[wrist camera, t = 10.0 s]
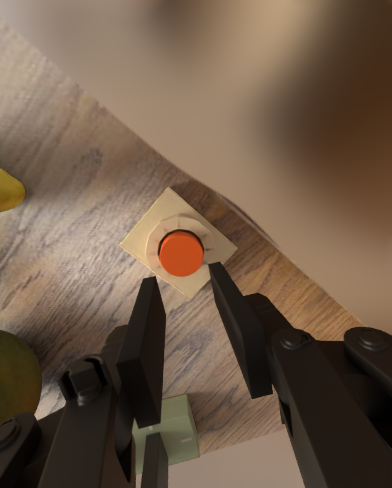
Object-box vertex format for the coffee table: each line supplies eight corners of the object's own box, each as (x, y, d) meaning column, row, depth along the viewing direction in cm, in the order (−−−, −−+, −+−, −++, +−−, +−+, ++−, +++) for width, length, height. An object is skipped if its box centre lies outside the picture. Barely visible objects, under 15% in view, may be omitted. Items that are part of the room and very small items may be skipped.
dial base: (185, 390, 31) (187, 412, 28) (198, 436, 33) (201, 461, 30) (115, 408, 30) (109, 432, 27) (133, 454, 32) (129, 481, 29)
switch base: (233, 243, 26) (243, 253, 22) (189, 291, 27) (192, 308, 23) (168, 186, 24) (168, 185, 20) (123, 240, 25) (114, 250, 21)
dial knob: (146, 435, 28) (137, 517, 21) (159, 431, 28) (155, 512, 21) (155, 461, 29) (149, 547, 22) (168, 458, 29) (167, 542, 22)
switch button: (208, 248, 22) (212, 254, 20) (182, 276, 23) (184, 285, 21) (178, 222, 21) (179, 226, 19) (152, 253, 22) (150, 259, 20)
